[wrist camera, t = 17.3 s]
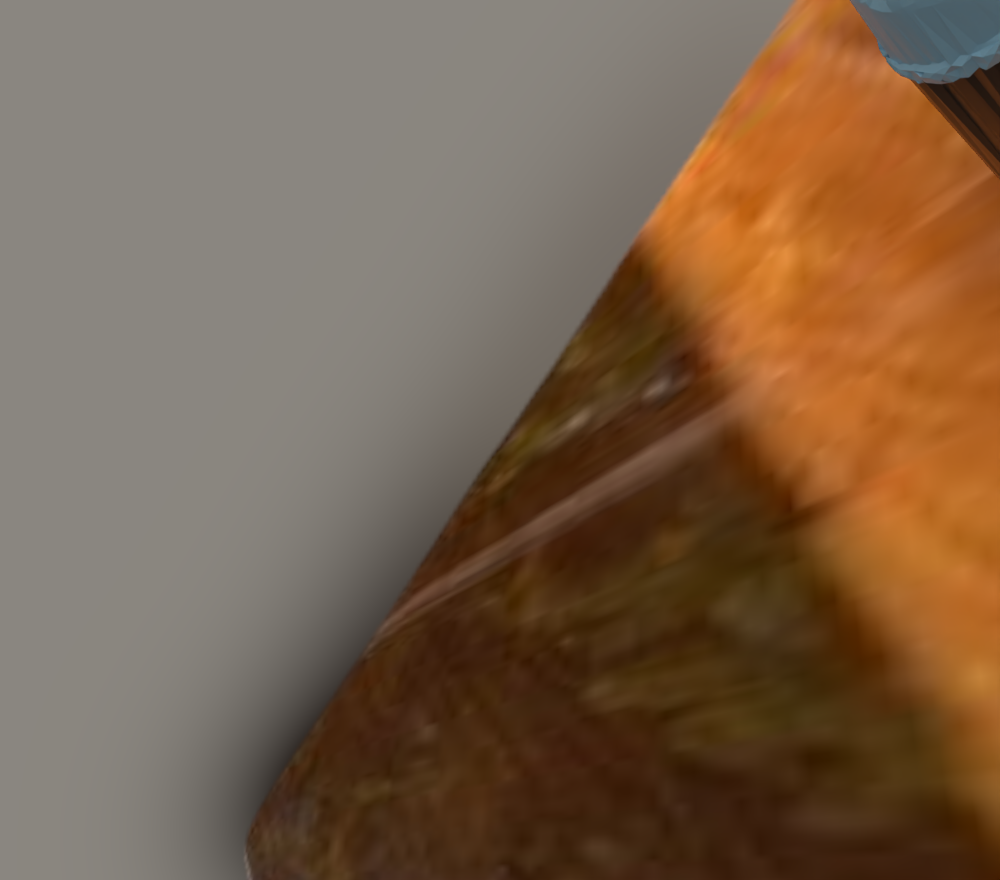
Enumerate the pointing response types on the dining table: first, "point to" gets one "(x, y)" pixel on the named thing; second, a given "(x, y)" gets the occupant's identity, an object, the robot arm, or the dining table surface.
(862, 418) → the dining table surface
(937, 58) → the robot arm
